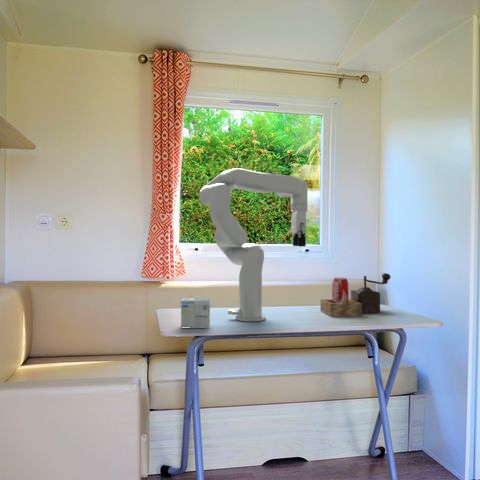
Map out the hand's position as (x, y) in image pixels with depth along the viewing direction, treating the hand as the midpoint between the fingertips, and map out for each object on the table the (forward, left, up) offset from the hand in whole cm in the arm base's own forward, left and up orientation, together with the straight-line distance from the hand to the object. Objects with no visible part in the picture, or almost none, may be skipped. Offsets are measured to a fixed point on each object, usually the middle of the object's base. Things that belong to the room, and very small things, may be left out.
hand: (299, 246), depth 188 cm
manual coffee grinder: (+34, 0, -31) cm, 46 cm away
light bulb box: (-47, -25, -31) cm, 61 cm away
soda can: (+18, -4, -26) cm, 32 cm away
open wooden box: (+18, -4, -30) cm, 35 cm away
